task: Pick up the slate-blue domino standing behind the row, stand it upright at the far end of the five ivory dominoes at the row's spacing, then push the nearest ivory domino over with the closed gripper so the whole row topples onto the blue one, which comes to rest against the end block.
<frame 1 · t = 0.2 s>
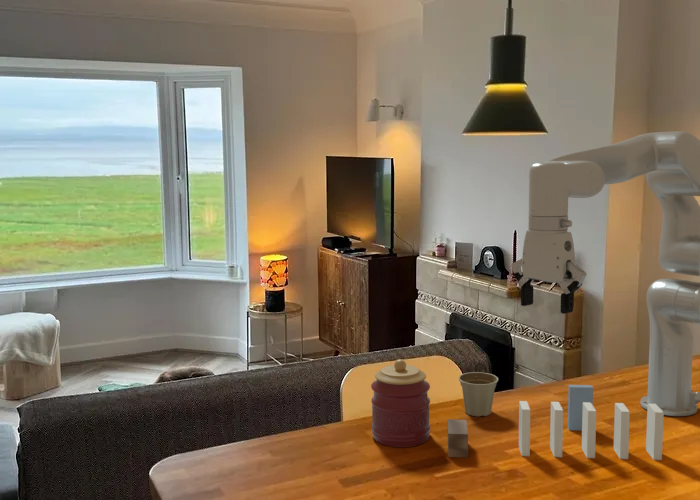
hand: (546, 308, 140), 31 cm above the table, tool pointing down, fingers open, 9 cm apart
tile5: (524, 451, 145), on the table
tile3: (588, 453, 143), on the table
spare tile: (579, 429, 156), on the table
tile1: (653, 454, 142), on the table
canister: (401, 437, 154), on the table
end block: (457, 449, 146), on the table
tile4: (556, 452, 144), on the table
flower pot: (478, 413, 167), on the table
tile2: (620, 453, 142), on the table
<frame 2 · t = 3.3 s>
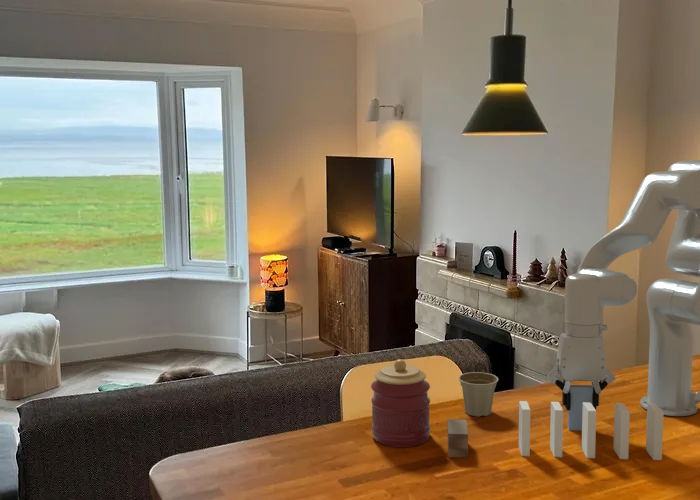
hand: (580, 407, 155), 5 cm above the table, tool pointing down, fingers closed on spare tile, 4 cm apart
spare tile: (579, 429, 156), on the table, touching gripper
everything else where it was.
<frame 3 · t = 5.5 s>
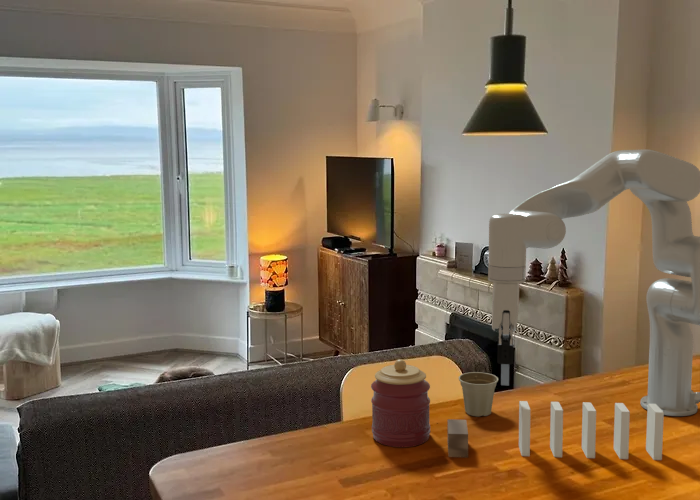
hand: (505, 359, 144), 19 cm above the table, tool pointing down, fingers closed on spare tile, 4 cm apart
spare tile: (504, 381, 145), point 14 cm above the table, touching gripper
everything else where it was.
when the fingers open (5 cm above the table, at t = 8.2 s): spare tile stays where it is, on the table.
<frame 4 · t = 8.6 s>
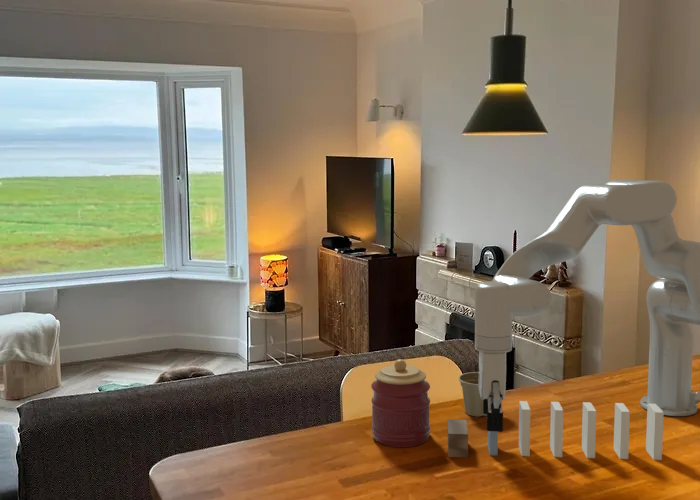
hand: (492, 421, 145), 6 cm above the table, tool pointing down, fingers open, 9 cm apart
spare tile: (492, 450, 145), on the table
everything else where it was.
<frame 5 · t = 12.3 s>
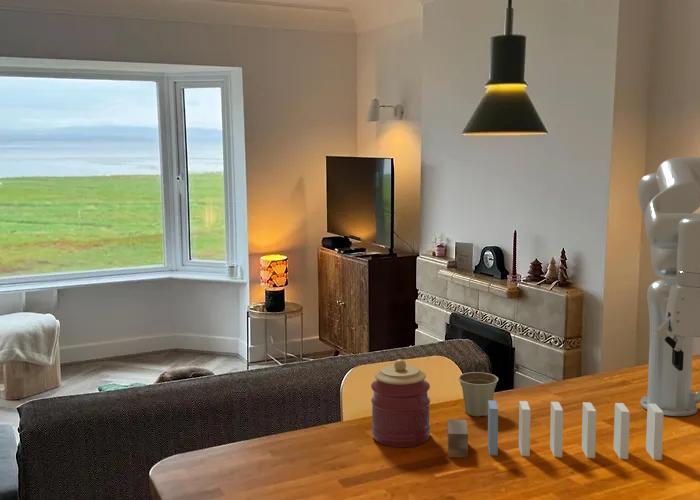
hand: (693, 368, 138), 18 cm above the table, tool pointing down, fingers open, 5 cm apart
nothing on the table moved.
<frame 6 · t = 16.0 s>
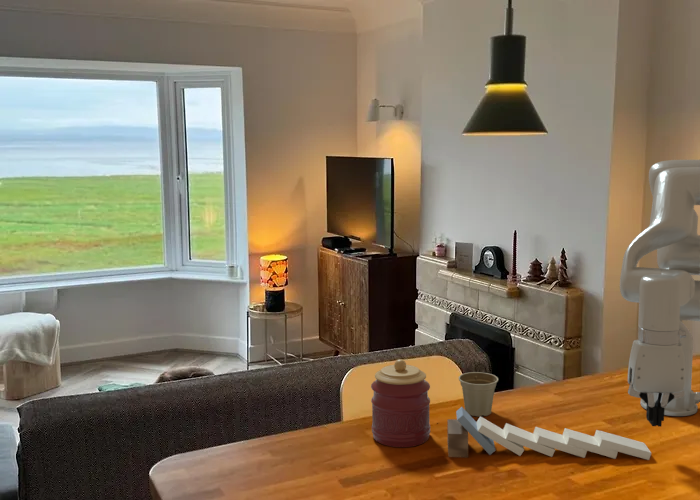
hand: (654, 423, 141), 7 cm above the table, tool pointing down, fingers closed
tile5: (520, 448, 145), point 1 cm above the table, tilted 59°, touching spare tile, tile4
tile3: (583, 449, 143), point 1 cm above the table, tilted 73°, touching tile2, tile4
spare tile: (491, 447, 145), point 1 cm above the table, tilted 42°, touching end block, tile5
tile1: (646, 451, 142), point 1 cm above the table, tilted 75°, touching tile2
tile4: (551, 448, 144), point 1 cm above the table, tilted 69°, touching tile3, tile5
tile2: (613, 450, 142), point 1 cm above the table, tilted 74°, touching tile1, tile3
everything else where it was.
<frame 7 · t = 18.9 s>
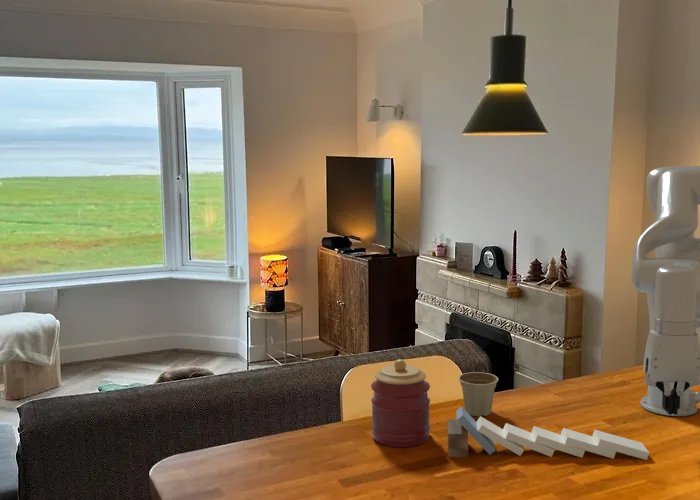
hand: (670, 411, 143), 8 cm above the table, tool pointing down, fingers closed
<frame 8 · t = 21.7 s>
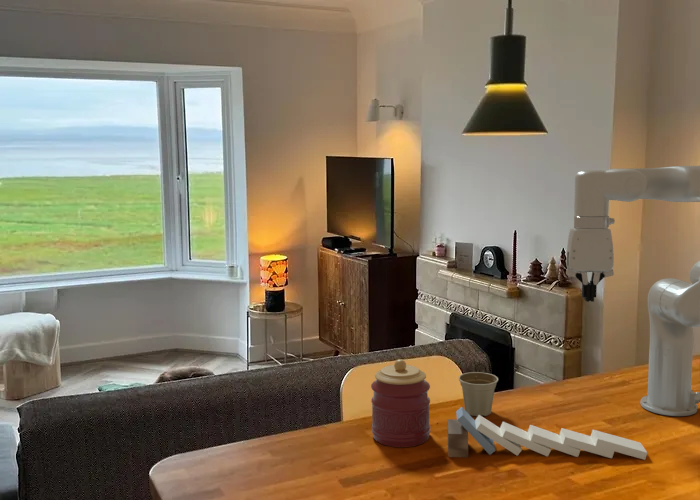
hand: (588, 300, 164), 27 cm above the table, tool pointing down, fingers closed
at the end: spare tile tilted 42°; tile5 tilted 57°; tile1 tilted 75° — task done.
